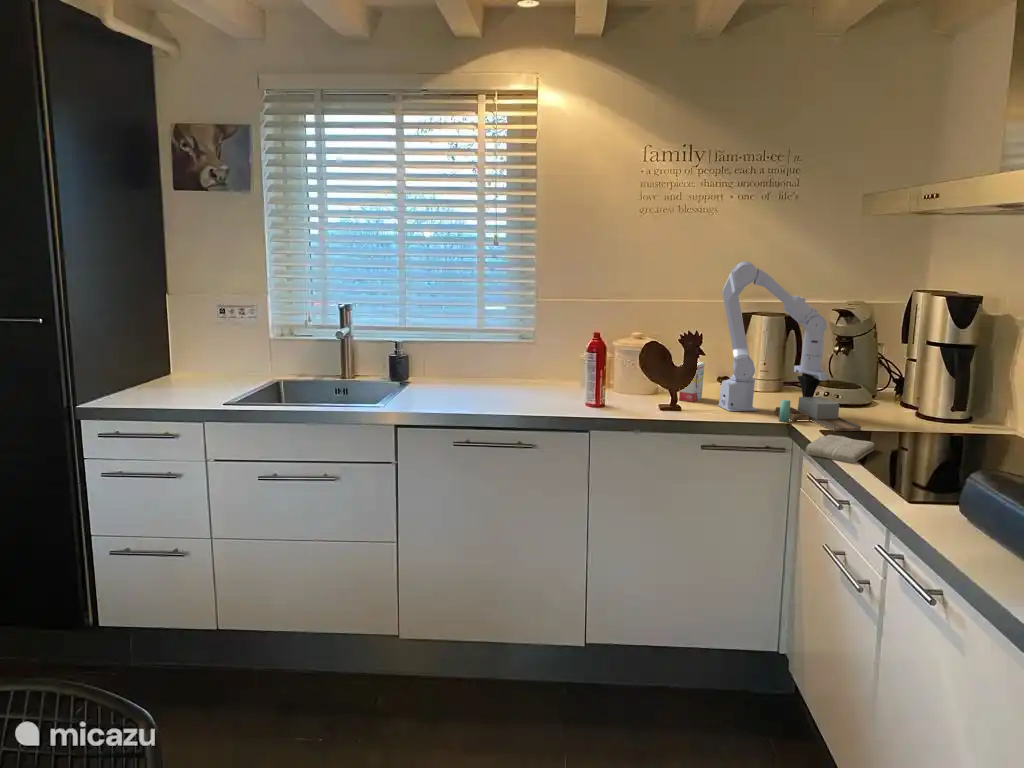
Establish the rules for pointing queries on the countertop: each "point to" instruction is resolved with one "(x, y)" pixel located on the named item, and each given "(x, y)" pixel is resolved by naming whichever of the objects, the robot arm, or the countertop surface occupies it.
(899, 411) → the countertop surface
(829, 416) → the grey rectangular block
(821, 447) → the washcloth
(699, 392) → the ink box
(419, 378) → the countertop surface
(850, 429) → the plate
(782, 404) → the peg
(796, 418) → the build board
